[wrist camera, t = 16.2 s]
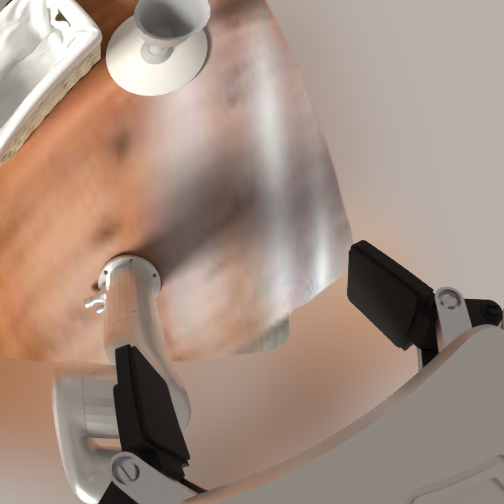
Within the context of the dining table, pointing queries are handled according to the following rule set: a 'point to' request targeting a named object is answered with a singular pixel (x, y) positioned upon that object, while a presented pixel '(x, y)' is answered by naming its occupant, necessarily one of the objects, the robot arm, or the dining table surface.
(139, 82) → the plate
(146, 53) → the chalice
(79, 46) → the storage basket
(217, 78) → the dining table surface
